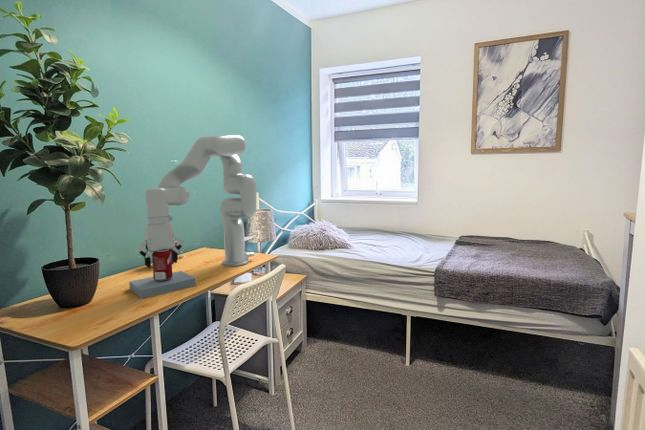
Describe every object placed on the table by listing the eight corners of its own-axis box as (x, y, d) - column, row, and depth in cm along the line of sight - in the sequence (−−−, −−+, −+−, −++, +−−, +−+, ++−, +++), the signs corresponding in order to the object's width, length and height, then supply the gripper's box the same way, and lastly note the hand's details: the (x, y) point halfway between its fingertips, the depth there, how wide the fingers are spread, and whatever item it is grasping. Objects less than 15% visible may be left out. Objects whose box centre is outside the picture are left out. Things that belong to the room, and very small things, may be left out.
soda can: (165, 282, 135) (163, 251, 133) (149, 281, 136) (147, 250, 135) (176, 277, 142) (174, 247, 140) (160, 276, 143) (159, 246, 141)
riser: (181, 277, 151) (181, 270, 151) (196, 285, 141) (195, 278, 140) (129, 289, 138) (129, 281, 137) (141, 298, 127) (140, 290, 127)
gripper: (177, 217, 144) (180, 258, 147) (130, 222, 133) (134, 267, 135) (185, 219, 139) (188, 262, 141) (136, 224, 127) (141, 271, 130)
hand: (162, 264), depth 138 cm, fingers open, 9 cm apart
